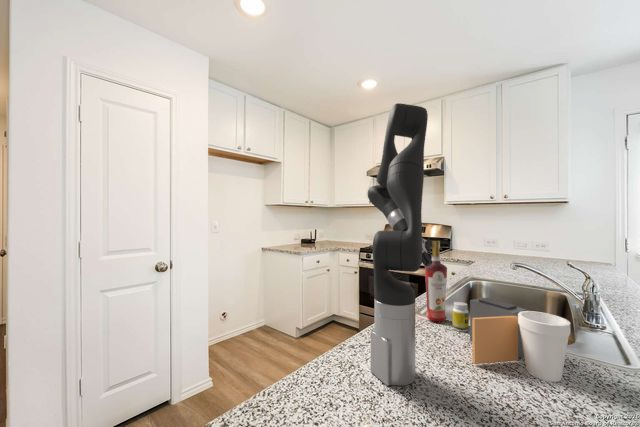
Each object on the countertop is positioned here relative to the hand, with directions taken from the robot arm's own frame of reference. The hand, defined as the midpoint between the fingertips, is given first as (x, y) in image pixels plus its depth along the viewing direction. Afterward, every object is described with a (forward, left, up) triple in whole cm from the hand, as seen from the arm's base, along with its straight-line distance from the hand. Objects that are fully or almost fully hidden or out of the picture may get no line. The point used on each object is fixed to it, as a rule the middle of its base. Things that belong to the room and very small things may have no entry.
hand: (429, 264), depth 84 cm
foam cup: (+8, -26, -22) cm, 35 cm away
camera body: (+11, -14, -22) cm, 28 cm away
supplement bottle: (+13, -1, -22) cm, 26 cm away
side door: (+2, -19, -21) cm, 28 cm away
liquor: (+12, +8, -22) cm, 26 cm away
